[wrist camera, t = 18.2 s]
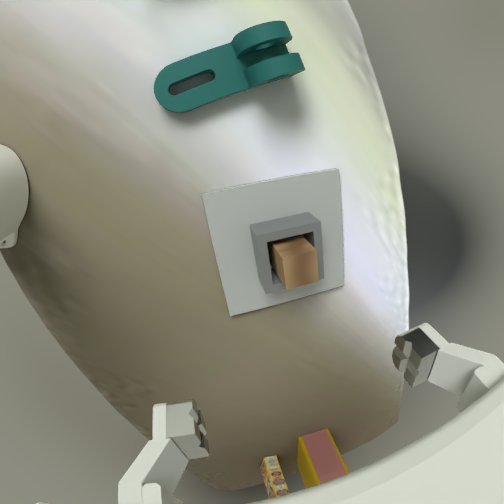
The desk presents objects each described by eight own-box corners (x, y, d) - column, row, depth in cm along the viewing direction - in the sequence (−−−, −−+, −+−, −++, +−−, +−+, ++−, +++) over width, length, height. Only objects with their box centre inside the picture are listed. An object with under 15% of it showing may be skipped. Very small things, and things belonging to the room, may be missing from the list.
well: (229, 312, 48) (234, 333, 43) (201, 193, 40) (203, 203, 35) (341, 282, 51) (356, 298, 46) (335, 168, 42) (354, 174, 37)
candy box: (263, 456, 72) (275, 498, 58) (277, 454, 73) (290, 495, 59) (259, 468, 75) (271, 506, 62) (272, 466, 76) (284, 504, 63)
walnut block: (270, 263, 45) (286, 289, 38) (266, 235, 43) (282, 258, 36) (298, 256, 45) (318, 281, 38) (295, 229, 44) (316, 250, 36)
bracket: (274, 34, 32) (293, 17, 25) (291, 76, 35) (313, 66, 28) (148, 77, 32) (139, 65, 25) (166, 120, 35) (161, 118, 28)
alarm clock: (322, 456, 81) (348, 516, 57) (296, 463, 79) (320, 526, 56) (328, 427, 72) (363, 500, 48) (298, 436, 70) (329, 513, 47)
